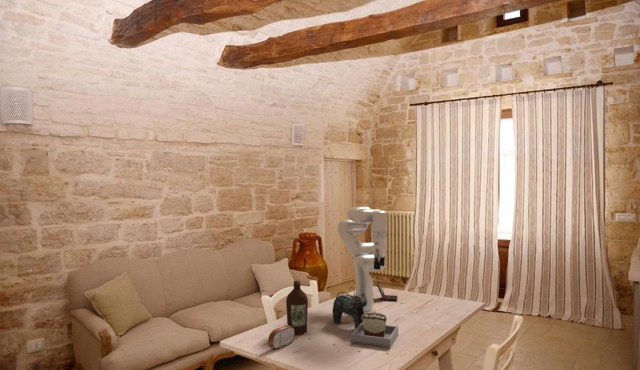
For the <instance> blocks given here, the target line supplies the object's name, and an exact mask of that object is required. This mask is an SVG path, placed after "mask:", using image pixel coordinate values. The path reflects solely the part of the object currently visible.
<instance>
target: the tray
mask: <svg viewBox="0 0 640 370" xmlns="http://www.w3.org/2000/svg"><path fill="white" fill-rule="evenodd" d="M354 329H355V328H354ZM398 336H399V326H397V325H389V324H386V327H385V337H384V338H383V337H375V336H367V335H364V329H363V322H362V323H361V324H360V325H359V326H358V327H357V328H356V329H355V330H354V331H353V332H352V333H351V335H350V342H351V344H355V345H356V344H357V345H362V346H371V347H377V348H378V347H379V348H386V349H391V348H392V346H393V345H394V343H395V342H396V339H397V338H398Z"/></svg>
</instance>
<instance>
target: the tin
mask: <svg viewBox="0 0 640 370" xmlns="http://www.w3.org/2000/svg"><path fill="white" fill-rule="evenodd" d="M295 336H296V335H295V330H294V328H293V327H291V326H289V325H287V324H286V325H283V326H281V327H280V326H279V327H277V328H274V329H273V330H272V331H271V332H270V334H269V335H268V338H267V339H268V340H267V345H268V346H269V347H270V348H272V349H275V350H278V349H281V348H283V347H285V345H286V346H288V345H290V344H292V342H293V341H294V339H295ZM289 343H290V344H289ZM287 344H288V345H287ZM282 346H283V347H282ZM280 347H281V348H280ZM277 348H278V349H277Z"/></svg>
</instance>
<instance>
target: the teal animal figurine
mask: <svg viewBox="0 0 640 370" xmlns="http://www.w3.org/2000/svg"><path fill="white" fill-rule="evenodd" d="M351 289H353V292H354V293H353V295H352V294H349V293H347V292H345V291H341V292H338V293H337V294H336V296H335V298H334V301H333V304H332V305H333V306H332V320H333V321H332V322H333V323H334V324H336V325H338V324H341V323H342V317H343V314H345V315H348V316H351V317H352V319H353V322H354V329H356V328H357V327H358V326H359V325H360V324H361V323H362V322H363V320H362V319H361V317H362V315H363V314H364V311H363V307H365V306H366V305H367V298H366V297H365V294H364V293H363V294H361V295H358V294H357V293H356V289H355V288H354V287H353V286H351V287H349V290H351ZM342 293H343V294H342ZM340 294H341V295H340Z"/></svg>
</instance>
